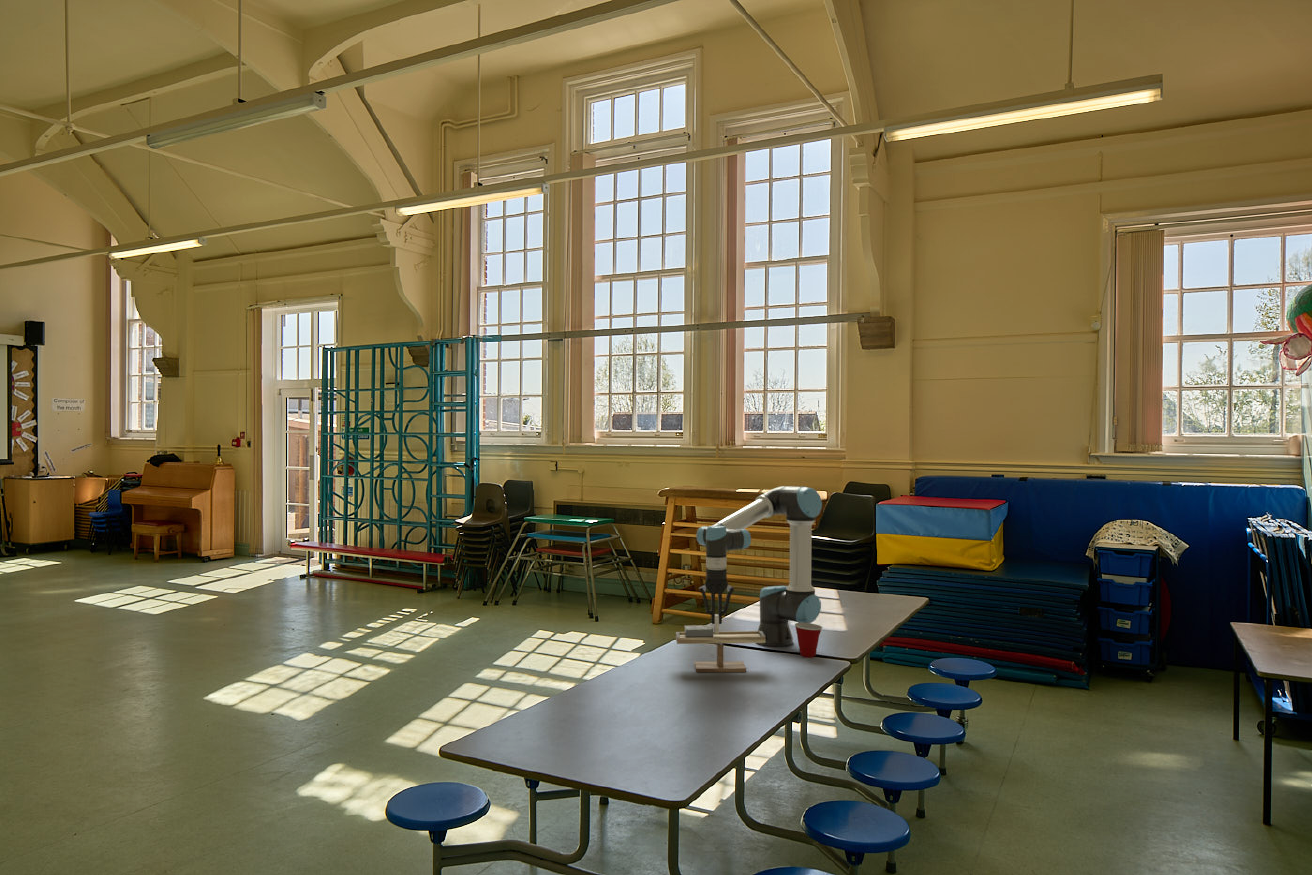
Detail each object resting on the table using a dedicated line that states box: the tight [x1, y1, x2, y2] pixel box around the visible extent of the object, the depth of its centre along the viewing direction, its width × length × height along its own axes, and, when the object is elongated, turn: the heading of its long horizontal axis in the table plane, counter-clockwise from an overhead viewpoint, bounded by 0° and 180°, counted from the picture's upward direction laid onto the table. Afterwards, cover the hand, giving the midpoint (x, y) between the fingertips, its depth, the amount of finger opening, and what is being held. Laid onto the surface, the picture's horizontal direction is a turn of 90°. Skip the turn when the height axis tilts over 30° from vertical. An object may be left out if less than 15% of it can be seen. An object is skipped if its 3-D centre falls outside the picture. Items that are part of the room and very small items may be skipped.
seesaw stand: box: [694, 643, 747, 673], centre depth 321 cm, size 10×18×9 cm, turn 91°
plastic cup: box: [794, 622, 824, 658], centre depth 340 cm, size 11×11×12 cm
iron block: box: [684, 624, 714, 637], centre depth 321 cm, size 7×10×4 cm
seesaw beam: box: [675, 630, 765, 646], centre depth 321 cm, size 10×32×3 cm, turn 91°
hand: (716, 632), depth 321 cm, fingers closed
